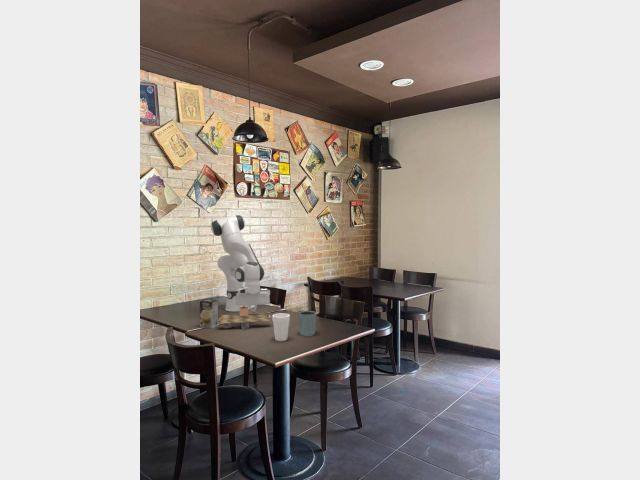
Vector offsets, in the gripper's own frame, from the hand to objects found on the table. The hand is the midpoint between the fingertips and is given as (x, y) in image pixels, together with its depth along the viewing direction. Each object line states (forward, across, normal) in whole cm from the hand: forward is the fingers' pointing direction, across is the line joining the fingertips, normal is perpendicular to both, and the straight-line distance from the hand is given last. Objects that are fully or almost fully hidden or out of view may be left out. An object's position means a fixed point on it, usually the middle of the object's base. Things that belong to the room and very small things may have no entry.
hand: (252, 312), depth 236 cm
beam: (+9, +5, 0) cm, 10 cm away
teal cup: (+9, -29, +21) cm, 37 cm away
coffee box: (+9, +26, -7) cm, 28 cm away
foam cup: (+9, -14, +28) cm, 33 cm away
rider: (+3, +5, 0) cm, 6 cm away
